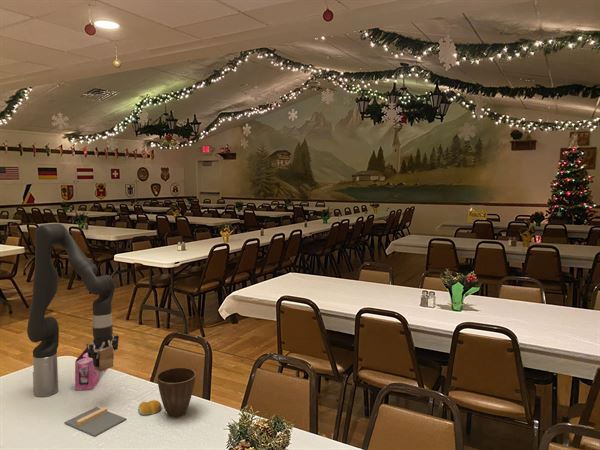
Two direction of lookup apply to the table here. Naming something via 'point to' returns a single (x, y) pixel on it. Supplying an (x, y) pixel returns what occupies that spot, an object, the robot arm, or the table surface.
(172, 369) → the plant pot
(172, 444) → the table surface
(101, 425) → the mat
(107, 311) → the robot arm
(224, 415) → the table surface
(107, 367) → the brown wooden block
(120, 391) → the table surface
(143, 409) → the bread roll
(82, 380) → the gum box
